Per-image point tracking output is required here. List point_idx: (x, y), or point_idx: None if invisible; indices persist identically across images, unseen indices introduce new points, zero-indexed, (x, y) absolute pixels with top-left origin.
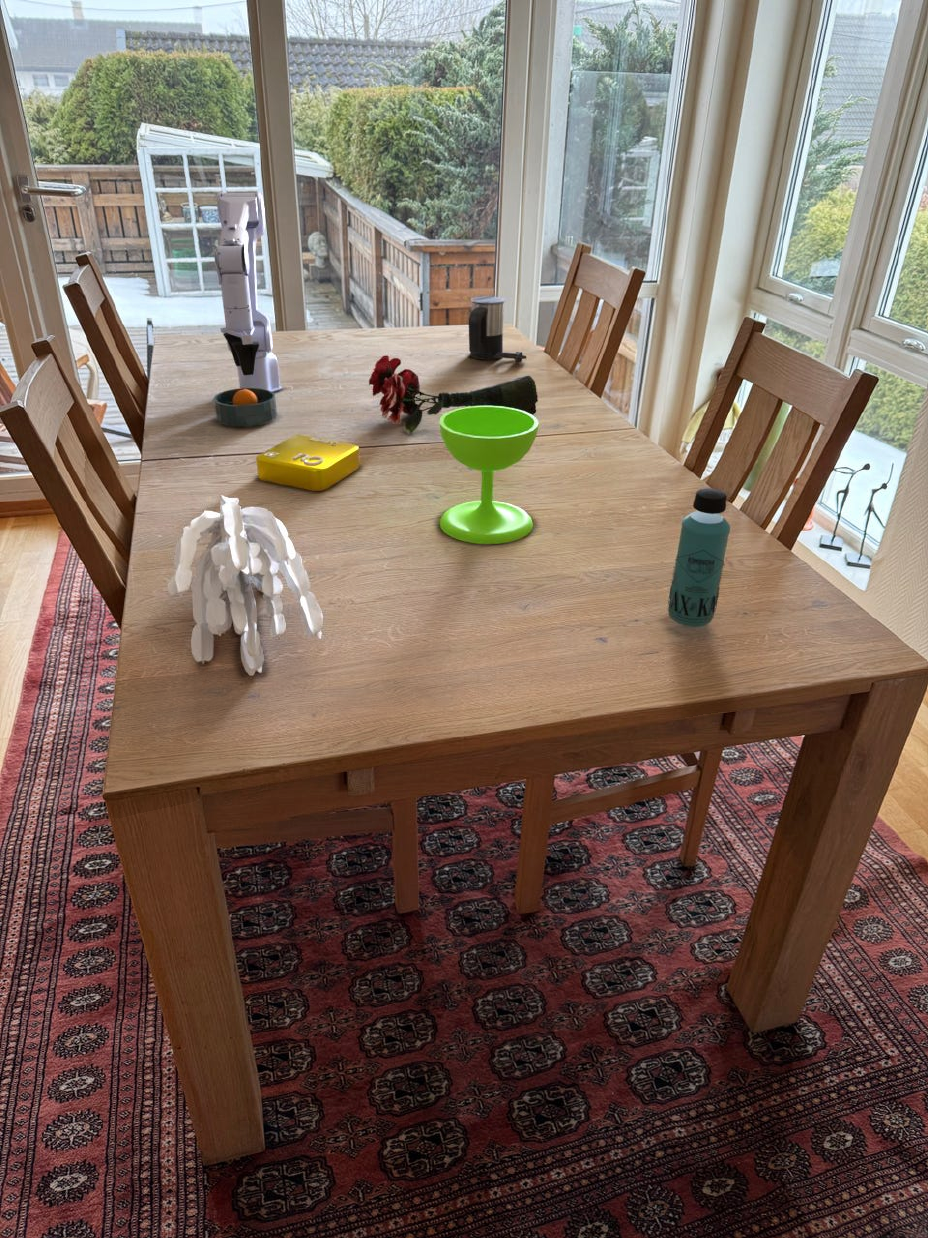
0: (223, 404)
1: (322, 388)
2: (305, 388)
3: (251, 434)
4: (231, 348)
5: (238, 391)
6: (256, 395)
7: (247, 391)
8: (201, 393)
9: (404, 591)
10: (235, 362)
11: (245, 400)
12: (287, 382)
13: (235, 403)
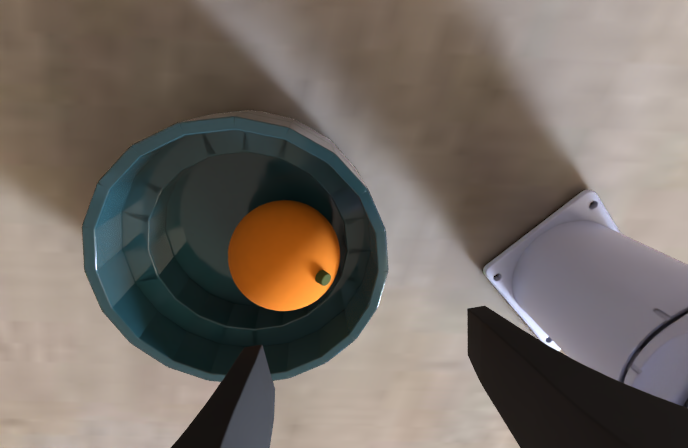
0: (112, 168)
1: (506, 438)
2: None
3: (70, 237)
4: (549, 385)
5: (278, 255)
6: (356, 300)
7: (266, 295)
8: (650, 60)
9: None
10: (479, 320)
11: (229, 266)
12: None
13: (247, 216)
